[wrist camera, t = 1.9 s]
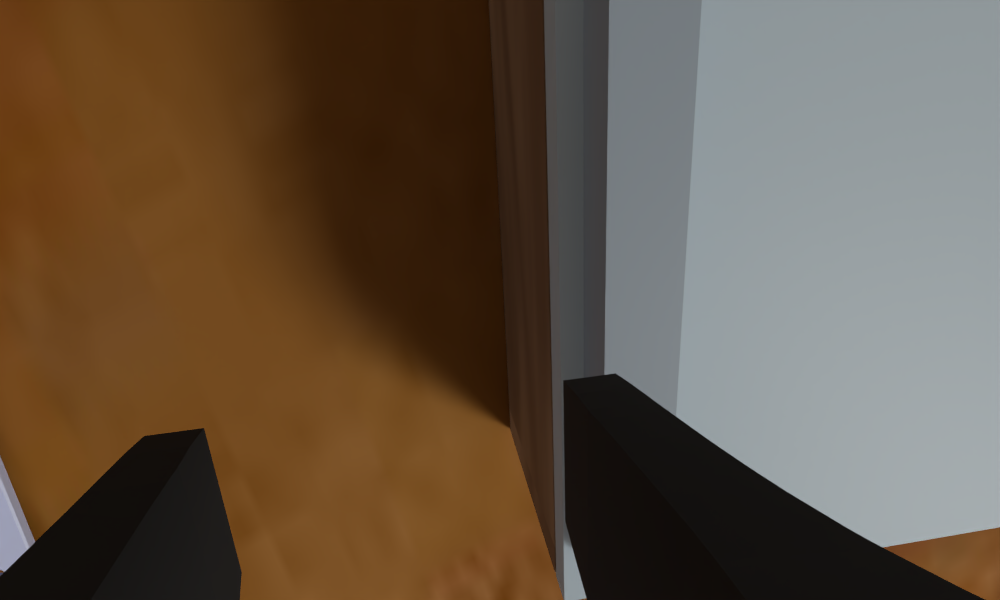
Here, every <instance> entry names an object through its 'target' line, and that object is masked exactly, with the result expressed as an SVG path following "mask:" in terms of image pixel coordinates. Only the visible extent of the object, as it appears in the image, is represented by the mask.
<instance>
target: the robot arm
mask: <svg viewBox="0 0 1000 600" xmlns="http://www.w3.org/2000/svg"><path fill="white" fill-rule="evenodd" d="M563 398H564V467H565V522H566V526H567V530H568V533H569V537H570V541H571V544H572V548H573V552H574V556H575V559H576V563H577V567H578V570H579V574H580V577H581V581H582V584H583V588H584V591H585V595H586V598H587V600H985V599H982V598H980V597H978V596H976V595H974V594H972V593H970V592H968V591H966V590H964V589H962V588H960V587H958V586H956V585H954V584H952V583H950V582H948V581H946V580H944V579H942V578H940V577H938V576H936V575H934V574H933V573H931V572H929V571H927V570H925V569H923V568H921V567H919V566H917V565H915V564H913V563H911V562H909V561H907V560H905V559H903V558H901V557H899V556H898V555H896V554H894V553H892V552H890V551H888V550H886V549H884V548H882V547H880V546H879V545H877V544H875V543H873V542H871V541H870V540H868V539H866V538H864V537H862V536H861V535H859V534H857V533H855V532H853V531H852V530H850V529H848V528H846V527H845V526H843V525H841V524H840V523H838V522H836V521H835V520H833V519H831V518H830V517H828V516H826V515H825V514H823V513H821V512H820V511H818V510H816V509H815V508H813V507H811V506H810V505H808V504H806V503H805V502H803V501H801V500H800V499H798V498H796V497H795V496H793V495H791V494H790V493H788V492H787V491H785V490H783V489H782V488H780V487H779V486H777V485H776V484H774V483H773V482H771V481H769V480H768V479H766V478H765V477H763V476H762V475H760V474H758V473H757V472H755V471H754V470H752V469H751V468H749V467H748V466H746V465H745V464H743V463H742V462H740V461H739V460H737V459H736V458H734V457H733V456H732V455H730V454H729V453H727V452H726V451H724V450H723V449H721V448H720V447H718V446H717V445H715V444H714V443H713V442H711V441H710V440H708V439H707V438H706V437H704V436H703V435H701V434H700V433H698V432H697V431H696V430H694V429H693V428H691V427H690V426H689V425H687V424H686V423H684V422H683V421H682V420H680V419H679V418H677V417H676V416H675V415H673V414H672V413H671V412H669V411H668V410H666V409H665V408H664V407H662V406H661V405H660V404H658V403H657V402H655V401H654V400H653V399H651V398H650V397H649V396H647V395H646V394H644V393H643V392H642V391H640V390H639V389H637V388H636V387H635V386H633V385H632V384H630V383H629V382H628V381H626V380H625V379H623V378H622V377H620V376H619V375H617V374H616V373H615V374H607V375H600V376H592V377H585V378H577V379H570V380H563ZM0 570H2V571H4V573H0V600H240V586H241V573H242V572H241V569H240V565H239V561H238V557H237V553H236V549H235V546H234V542H233V538H232V534H231V530H230V526H229V523H228V519H227V515H226V511H225V507H224V503H223V500H222V496H221V492H220V488H219V484H218V480H217V477H216V473H215V469H214V465H213V461H212V457H211V454H210V450H209V446H208V442H207V438H206V435H205V431H204V428H202V429H194V430H187V431H179V432H172V433H164V434H157V435H149V436H144V437H143V438H142V439H141V440H139V441H138V442H137V443H136V444H135V445H134V446H133V447H132V448H131V449H129V450H128V451H127V452H126V453H125V454H124V455H123V456H122V457H121V458H120V459H119V460H118V461H117V462H116V463H115V464H114V465H113V466H112V467H111V468H110V469H109V470H108V471H107V472H106V473H105V474H104V475H103V476H102V477H101V478H100V479H99V480H98V481H97V482H96V483H95V484H94V485H93V486H92V487H91V488H90V489H89V490H88V491H87V492H86V493H85V494H84V495H83V496H82V497H81V498H80V499H79V500H78V501H77V502H76V503H75V504H74V505H73V506H72V507H71V508H70V509H69V510H68V511H67V512H66V513H65V514H64V515H63V516H62V517H61V518H59V519H58V520H57V521H56V522H55V523H54V524H53V525H52V526H51V527H50V528H49V529H48V530H47V531H46V532H45V533H44V534H43V535H42V536H41V537H40V538H39V539H38V540H37V541H36V542H35V540H34V538H33V535H32V533H31V531H30V528H29V526H28V523H27V521H26V518H25V516H24V513H23V511H22V509H21V506H20V504H19V501H18V499H17V496H16V494H15V491H14V489H13V487H12V484H11V482H10V479H9V477H8V474H7V472H6V469H5V467H4V465H3V462H2V460H1V457H0Z"/></svg>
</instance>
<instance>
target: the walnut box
mask: <svg viewBox="0 0 1000 600" xmlns="http://www.w3.org/2000/svg"><path fill="white" fill-rule="evenodd" d="M489 19H490V39H491V59H492V78H493V98H494V117H495V137H496V157H497V176H498V196H499V215H500V235H501V254H502V274H503V294H504V313H505V333H506V352H507V372H508V392H509V411H510V430H511V433H512V436H513V440H514V443H515V446H516V449H517V452H518V455H519V459H520V462H521V465H522V468H523V471H524V475H525V478H526V481H527V484H528V487H529V491H530V494H531V497H532V500H533V503H534V506H535V510H536V513H537V516H538V519H539V522H540V526H541V529H542V532H543V535H544V538H545V541H546V545H547V548H548V551H549V554H550V557H551V561H552V564H553V567H554V570H555V572H556V538H555V492H554V447H553V401H552V355H551V309H550V263H549V217H548V171H547V125H546V79H545V33H544V0H489Z"/></svg>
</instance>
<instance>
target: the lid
mask: <svg viewBox="0 0 1000 600" xmlns="http://www.w3.org/2000/svg"><path fill="white" fill-rule="evenodd" d="M544 33H545V79H546V125H547V171H548V217H549V263H550V309H551V355H552V401H553V447H554V492H555V538H556V577H557V580H558V583H559V586H560V589H561V592H562V596H563V599H564V600H579V599H584V598H586V595H585V591H584V588H583V584H582V581H581V577H580V574H579V570H578V567H577V563H576V559H575V556H574V552H573V548H572V544H571V541H570V537H569V533H568V530H567V526H566V522H565V467H564V398H563V380H570V379H577V378H585V377H592V376H600V375H607V374H615V373H616V374H617V375H619V376H620V377H622V378H623V379H625V380H626V381H628V382H629V383H630V384H632V385H633V386H635V387H636V388H637V389H639V390H640V391H642V392H643V393H644V394H646V395H647V396H649V397H650V398H651V399H653V400H654V401H655V402H657V403H658V404H660V405H661V406H662V407H664V408H665V409H666V410H668V411H669V412H671V413H672V414H673V415H675V416H676V417H677V418H679V419H680V420H682V421H683V422H684V423H686V424H687V425H689V426H690V427H691V428H693V429H694V430H696V431H697V432H698V433H700V434H701V435H703V436H704V437H706V438H707V439H708V440H710V441H711V442H713V443H714V444H715V445H717V446H718V447H720V448H721V449H723V450H724V451H726V452H727V453H729V454H730V455H732V456H733V457H734V458H736V459H737V460H739V461H740V462H742V463H743V464H745V465H746V466H748V467H749V468H751V469H752V470H754V471H755V472H757V473H758V474H760V475H762V476H763V477H765V478H766V479H768V480H769V481H771V482H773V483H774V484H776V485H777V486H779V487H780V488H782V489H783V490H785V491H787V492H788V493H790V494H791V495H793V496H795V497H796V498H798V499H800V500H801V501H803V502H805V503H806V504H808V505H810V506H811V507H813V508H815V509H816V510H818V511H820V512H821V513H823V514H825V515H826V516H828V517H830V518H831V519H833V520H835V521H836V522H838V523H840V524H841V525H843V526H845V527H846V528H848V529H850V530H852V531H853V532H855V533H857V534H859V535H861V536H862V537H864V538H866V539H868V540H870V541H871V542H873V543H875V544H877V545H879V546H880V547H887V546H893V545H899V544H905V543H910V542H916V541H922V540H928V539H934V538H940V537H945V536H951V535H957V534H963V533H969V532H974V531H980V530H986V529H992V528H998V527H1000V0H544Z"/></svg>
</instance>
